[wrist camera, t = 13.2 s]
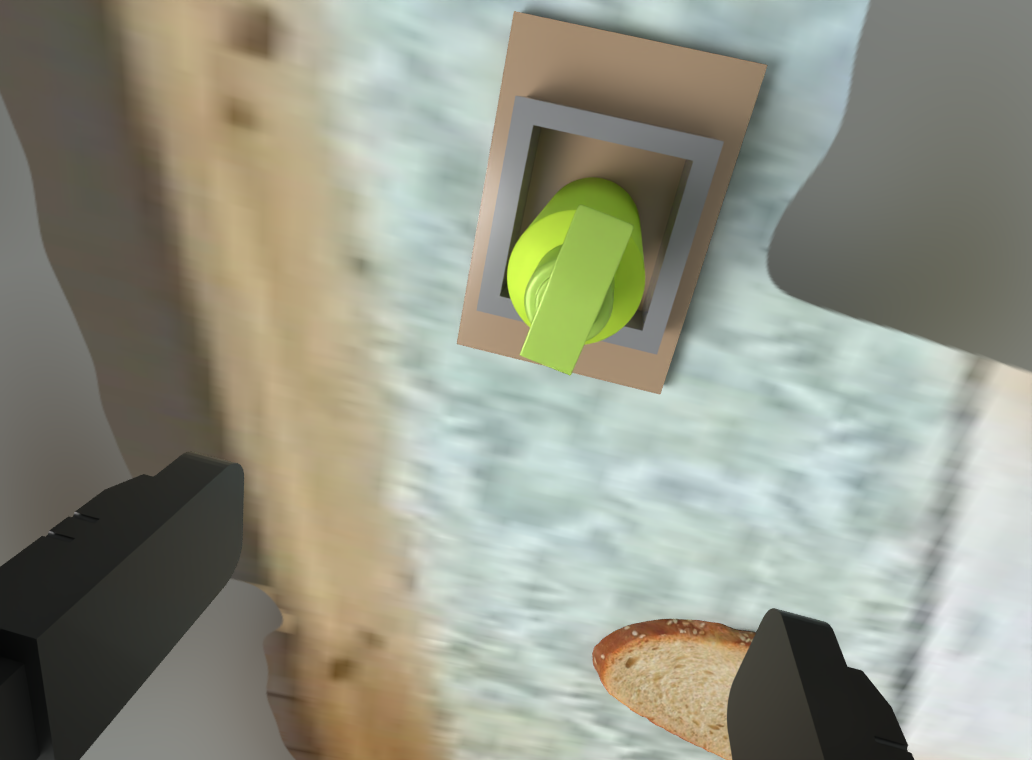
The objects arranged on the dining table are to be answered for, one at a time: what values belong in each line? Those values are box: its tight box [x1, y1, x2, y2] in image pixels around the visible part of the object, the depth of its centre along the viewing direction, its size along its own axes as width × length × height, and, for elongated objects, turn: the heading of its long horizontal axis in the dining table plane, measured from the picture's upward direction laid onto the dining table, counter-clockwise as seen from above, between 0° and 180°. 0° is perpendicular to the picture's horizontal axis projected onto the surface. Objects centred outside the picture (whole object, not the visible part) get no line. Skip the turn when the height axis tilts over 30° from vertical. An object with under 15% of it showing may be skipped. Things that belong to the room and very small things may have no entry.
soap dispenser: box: [507, 177, 645, 375], centre depth 30 cm, size 6×7×20 cm
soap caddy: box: [457, 11, 767, 394], centre depth 38 cm, size 20×14×6 cm
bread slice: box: [592, 619, 756, 760], centre depth 53 cm, size 18×18×4 cm
